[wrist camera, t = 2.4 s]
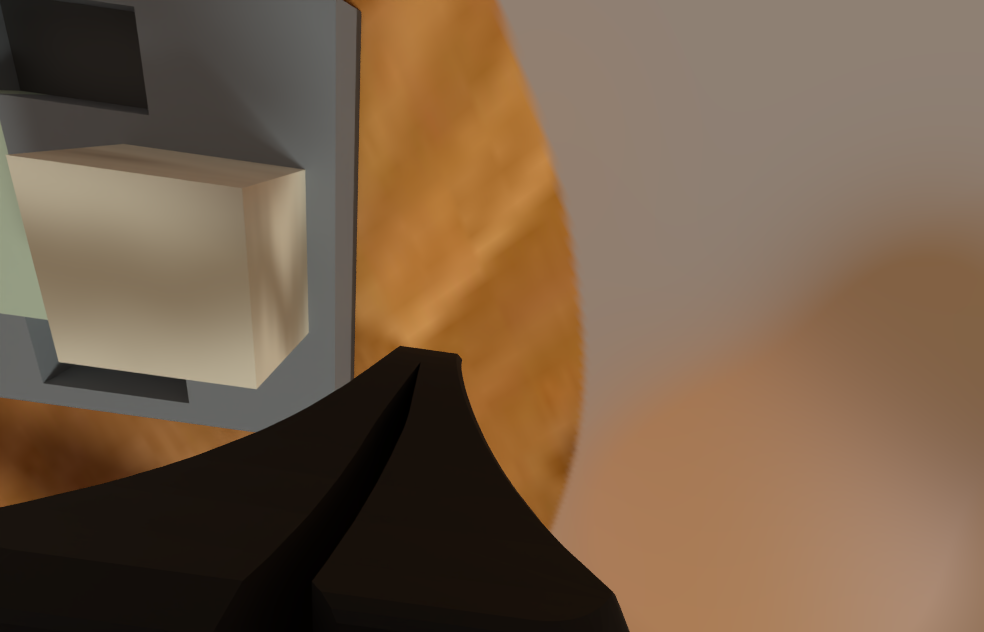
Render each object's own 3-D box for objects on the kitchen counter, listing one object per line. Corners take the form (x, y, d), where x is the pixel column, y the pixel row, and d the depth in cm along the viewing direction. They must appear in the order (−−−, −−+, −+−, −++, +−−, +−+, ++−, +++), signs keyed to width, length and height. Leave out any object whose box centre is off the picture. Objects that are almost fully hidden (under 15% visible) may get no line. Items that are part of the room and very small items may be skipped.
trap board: (353, 409, 23) (316, 476, 19) (-33, 355, 23) (-157, 411, 18) (361, 11, 16) (308, -21, 12) (-177, -66, 16) (-415, -126, 12)
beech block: (308, 332, 18) (256, 389, 15) (150, 310, 18) (58, 361, 15) (305, 169, 16) (242, 188, 12) (123, 144, 16) (5, 154, 12)
